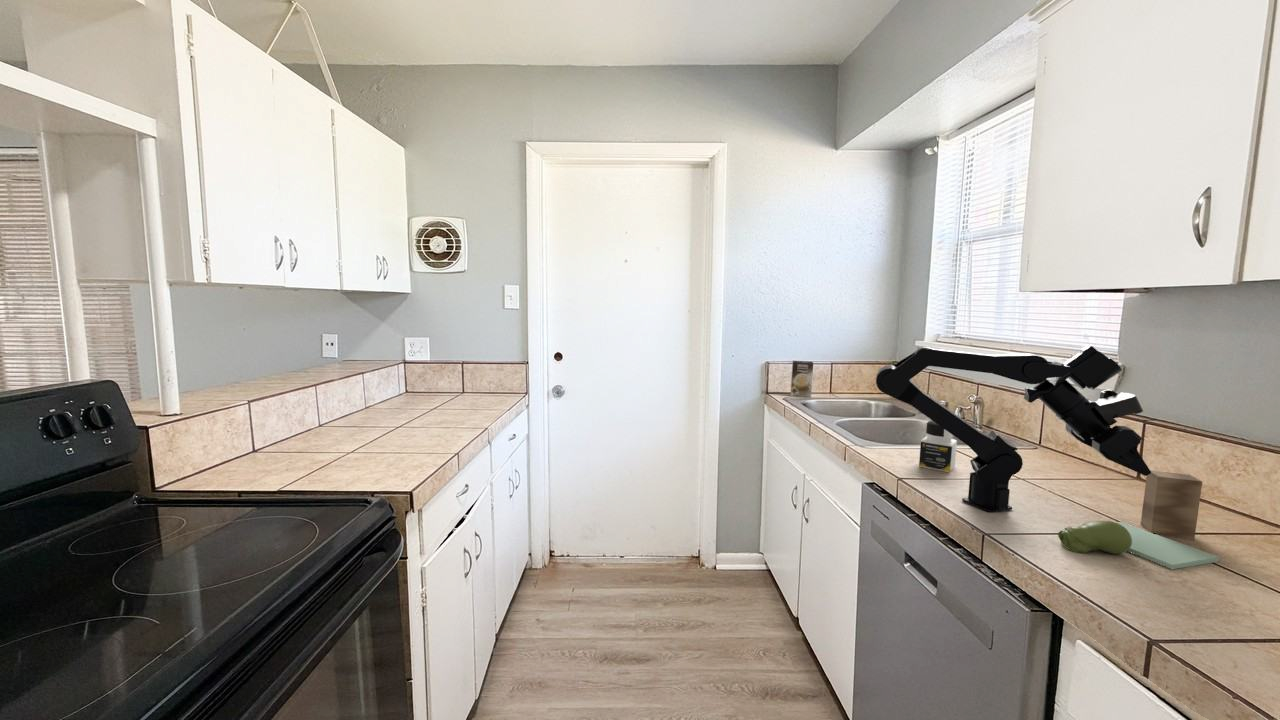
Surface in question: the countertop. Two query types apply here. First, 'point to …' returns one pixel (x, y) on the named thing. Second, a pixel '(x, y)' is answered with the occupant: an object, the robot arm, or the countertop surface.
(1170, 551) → the mat
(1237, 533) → the countertop surface
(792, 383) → the coffee box
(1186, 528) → the block
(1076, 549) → the pear
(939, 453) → the medicine bottle
